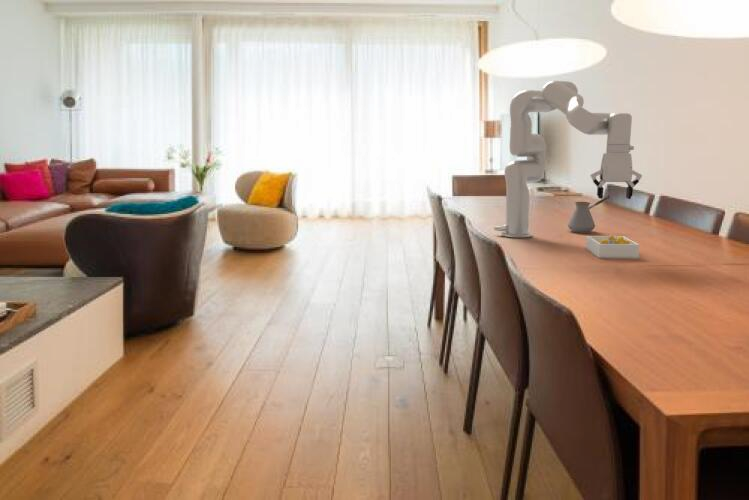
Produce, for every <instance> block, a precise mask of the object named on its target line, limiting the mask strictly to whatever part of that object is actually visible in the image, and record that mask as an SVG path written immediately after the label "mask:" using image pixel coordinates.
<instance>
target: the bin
mask: <svg viewBox="0 0 749 500" xmlns="http://www.w3.org/2000/svg"><path fill="white" fill-rule="evenodd" d="M613 236H614V239H617V237H618V236H619V235H613ZM621 236H622V237H623V239H624V240H626V241H630V244H600V243H599V242H602V240H603V239H607V240H608V235H586V236H585V250H586V251H588V252H589V253H590V254H592V255H593V256H595V257H596V258H598V259H607V260H609V259H616V260H617V259H619V260H621V259H622V260H623V259H625V260H626V259H627V260H628V259H629V260H630V259H633V260H639V258H640V257H639V254H640V243H637V242H636V241H633V240H632V239H630V238H628V237H627V236H624V235H621Z"/></svg>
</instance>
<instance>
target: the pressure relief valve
mask: <svg viewBox="0 0 749 500" xmlns="http://www.w3.org/2000/svg"><path fill="white" fill-rule="evenodd" d="M607 236H608V240H607V239H603V240H602V242H599V243H600V244H630V241H626V240H624V239H623V237H622V236H623V235H617V236H618V237H617V239H614V236H615V235H610V234H608V235H607Z"/></svg>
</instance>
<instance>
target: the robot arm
mask: <svg viewBox="0 0 749 500" xmlns="http://www.w3.org/2000/svg"><path fill="white" fill-rule="evenodd" d="M584 101H585V100H584V97H583V96H582V95H581V94H579V90H578V88H577V86H576V84H574V83H573V82H571V81H565V80H551V81H548V82H546V83H545V84H544V85H543V86H542V89H541V90H534V89H533V90H532V89H530V90H529V89H528V90H527V89H526V90H522V91H519V92H517V93H515V95H514V96H513V97H512V99H511V101H510V106H509V117H510V129H509V131H510V132H509V152H510V154H511V155H512V156H513V157H517V158H526V159H518V160H513V161H510V162H509V163H508V164H506V166H505V168H504V180H505V187H506V196H505V197H506V198H505V199H506V201H505V223H504V224H503V225H500V226H499V225H494V226H493V231H494V232H495V231H496V232H497V231H498V232H501V236H503V237H507V238H514V239H515V238H519V239H520V238H523V239H524V238H531V237H532V235H533V234H532V232H531V231H529V219H530V218H529V216H530V198H531V197H530V195H531V194H530V190H529V187H528V185H527V184H529V183H530V184H532V183H537V182H540V181H541V180H542V179H543V177H544V176H545V169H546V155H547V153H546V152H547V145H546V141H545V139H544V137H543V136H542V135H541V134H539V133H533V132H532V130H533V123H532V119H531V117H530V113H548V112H553V111H556V110H558V111H560V112H561V113H562V114H564V115H565V118H566V120H567V122H568V123H569V125H570V126H572V127H574V128H575V129H576V130H577V131H579V132H580V133H583V134H584V135H590V136H591V135H593V136H594V135H596V136H598V135H601V136H602V135H603V136H604V135H605V136H606V135H607V136H606V137H607V138H606V151H605V152H604V153H603V154H602V159H601V164H600V169H599V170H597V171H595V172H593V173H591V174H590V179H591V180H592V182H593V184H594V185H595V186H596V187H597V188H596V189H597V192H596V196H597V198H598V199H600V200H602V199H604V187H603V186H604V185H605V184H606V183H625V184H627V187H626V192H625V198H626V199H628V200H631V198H632V197H633V193H634V192H633V191H634V188H635V186H636V185H637V184H638V183H639V182H640V180H641V179H642V177H643V175H642V174H641V173H639V172H637V171H635V170H633V159H632V153H631V151H634V148H635V146H634V145H631V136H632V135H631V134H632V121H633V118H632V117H633V116H632V115H631V113H628V112H624V113H623V112H618V113H617V112H616V113H609V112H608V113H606V112H605V113H604V112H590V111H588V110H587V109H585V108H584V107H583V106H584ZM598 176H599V181H598V180H597V177H598ZM633 176H635V178H634V179H633ZM632 179H633V180H632Z"/></svg>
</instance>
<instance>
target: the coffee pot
mask: <svg viewBox="0 0 749 500" xmlns="http://www.w3.org/2000/svg"><path fill="white" fill-rule="evenodd" d="M609 198H610V199H609ZM612 199H613V198H612V197H611V196H610V195H608V196H606V197H603V198H602V199H600V200H599V201H597V202H595V203H594V204H592V205H591V202H587V201H576V202H574V204H575V206H576V207H575V208H574V211H573V213H572V215H571V216H570V219H569V221H568V223H567V226H568V229H569V230H571V232H572V233H575V234H576V233H578V234H587V233H588V234H589V233H591V231H594V229H595V228H596V224H595V221H594V219H593V216H592V213H591V209H592V208H594V207H596V206H598V205H600V204H602V203H604V201H607V200H609V201H612Z"/></svg>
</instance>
